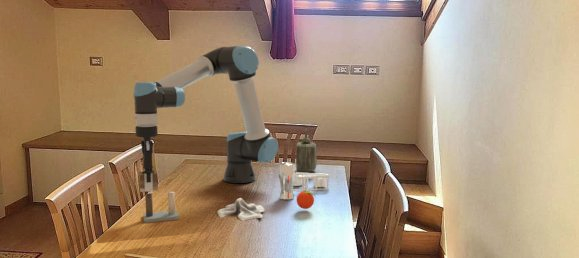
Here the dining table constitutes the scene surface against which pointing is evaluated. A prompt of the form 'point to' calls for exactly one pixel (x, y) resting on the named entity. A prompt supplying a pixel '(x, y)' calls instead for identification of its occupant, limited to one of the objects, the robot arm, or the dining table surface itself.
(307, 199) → the clementine
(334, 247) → the dining table surface
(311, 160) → the green square bottle
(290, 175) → the beer glass
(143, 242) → the dining table surface
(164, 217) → the pin stand
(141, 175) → the brown open cube
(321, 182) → the clear divided organizer
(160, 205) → the dining table surface
